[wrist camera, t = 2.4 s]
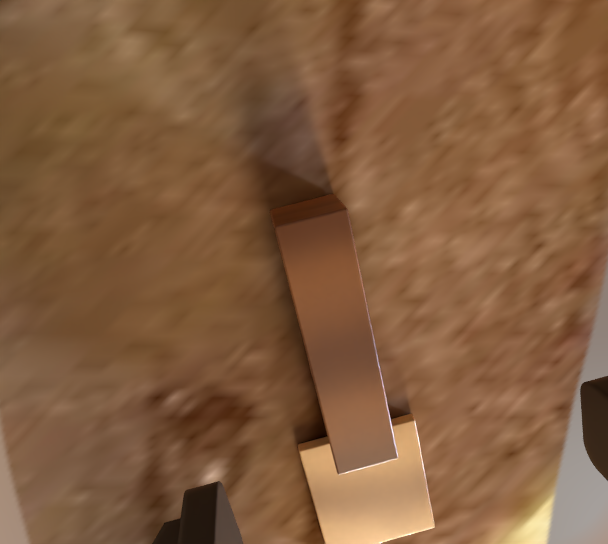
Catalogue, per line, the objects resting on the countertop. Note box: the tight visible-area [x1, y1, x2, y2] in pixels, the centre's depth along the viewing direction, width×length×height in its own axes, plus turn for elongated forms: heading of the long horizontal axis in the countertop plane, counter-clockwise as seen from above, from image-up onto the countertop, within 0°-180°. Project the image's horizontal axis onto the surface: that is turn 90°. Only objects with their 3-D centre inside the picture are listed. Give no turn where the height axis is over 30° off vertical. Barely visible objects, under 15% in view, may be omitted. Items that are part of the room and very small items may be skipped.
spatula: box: [270, 194, 435, 544], centre depth 21 cm, size 16×5×2 cm, turn 13°
